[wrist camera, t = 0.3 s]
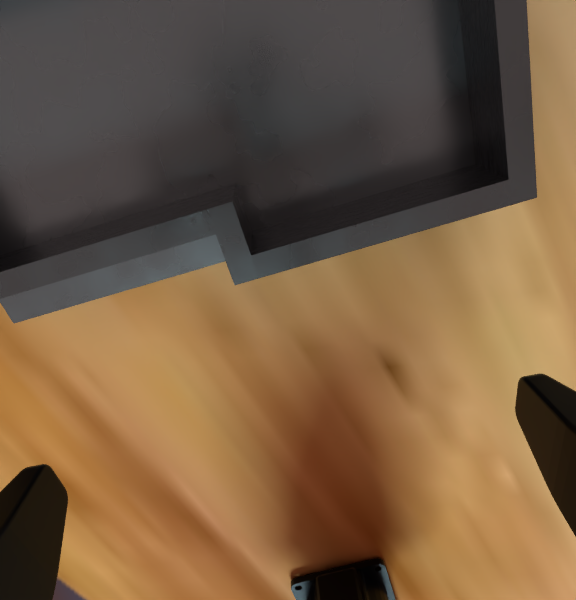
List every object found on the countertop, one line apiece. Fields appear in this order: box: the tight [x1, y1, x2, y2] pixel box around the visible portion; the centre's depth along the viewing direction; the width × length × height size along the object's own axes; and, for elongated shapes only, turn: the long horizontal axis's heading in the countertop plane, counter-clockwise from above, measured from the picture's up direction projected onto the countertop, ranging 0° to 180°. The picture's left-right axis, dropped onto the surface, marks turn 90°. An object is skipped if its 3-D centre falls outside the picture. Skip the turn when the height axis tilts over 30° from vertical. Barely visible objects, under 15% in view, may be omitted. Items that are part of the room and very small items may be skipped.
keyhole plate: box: [0, 0, 537, 323], centre depth 17 cm, size 15×23×4 cm, turn 106°
